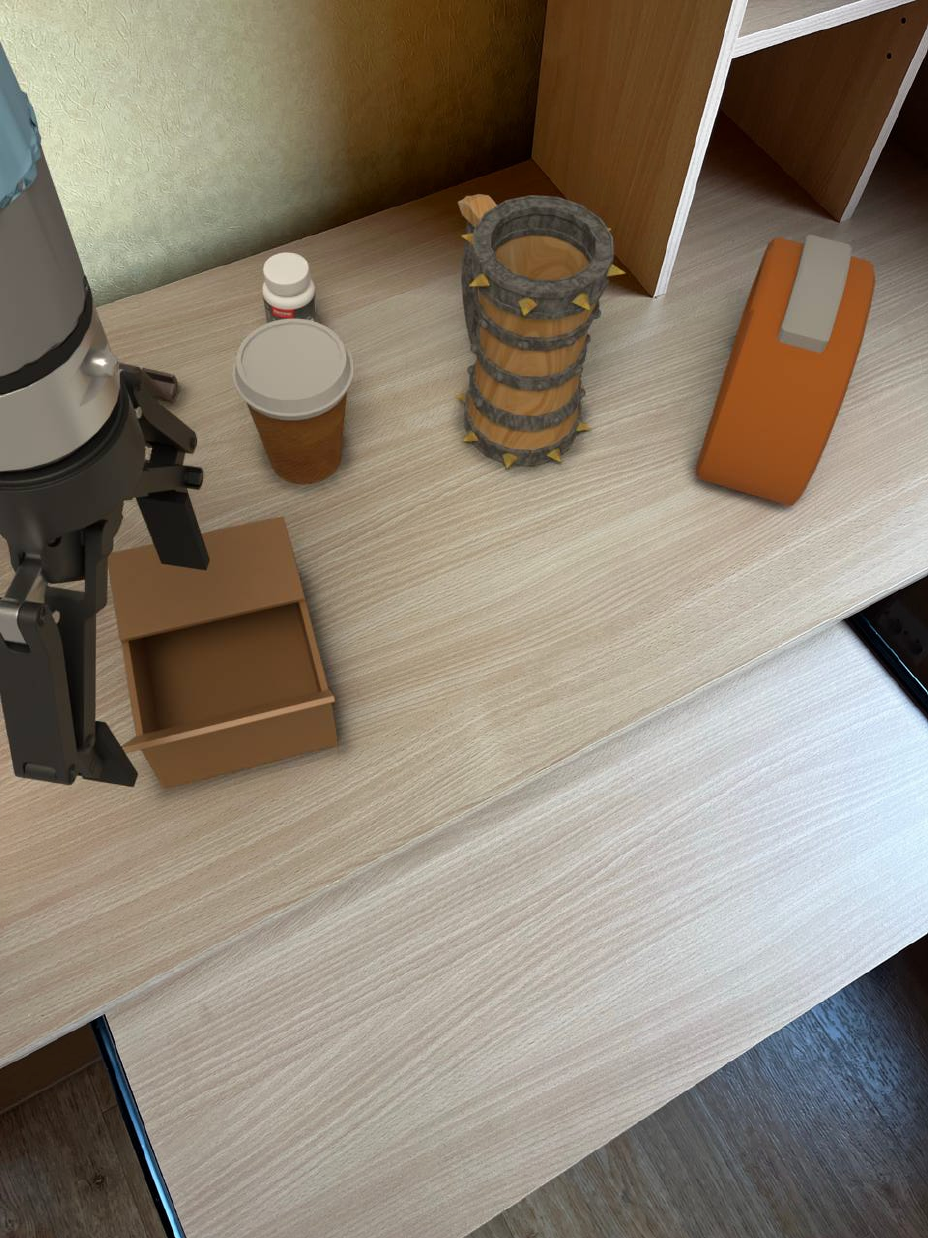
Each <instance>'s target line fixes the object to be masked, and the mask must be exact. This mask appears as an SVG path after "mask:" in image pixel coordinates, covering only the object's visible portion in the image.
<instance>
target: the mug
mask: <svg viewBox="0 0 928 1238" xmlns="http://www.w3.org/2000/svg"><path fill="white" fill-rule="evenodd" d="M457 204H458V207H459V210H460V213H461V216H462V217H464V219H466V231H465V234H462V235H461V234H460V236H461V238H463V239H465V240H464V247H463V254H462V262H461V274H460V278H461V279H460V280H461V281H460V282H461V295H462V307H463V312H464V319H465V326H466V330H467V335H468V340H469V342H470V352H471V353H472V354H474V355H475V356H476V360H475V362H474V363H473V365H472V364H471V365H469V366H468V367H467V370H466V373H467V374H468V375H469V380H468V381H469V382H468V390H467V392H466V393H463V394H454V396H455V397H456V398H458V399H459V400H460V401H461V402H463V403H464V416H463V417H464V418H463V428H464V431H465V432H466V435H465V436H464V437H463V439H462V440H461V442H470V444H472V446H474V447H475V448H476V449H477V450H478V451H479V452H481V453H482V454H483V455H484V456H485V457H486V458H489V459H491V460H492V461H493V460H494V461H496V462H498V463H500V464H504V465H505V468H506V469H508V468H509V467H510V466H511V467H527V468H528V467H530V468H532V467H537V466H541V465H543V464H549V463H551V462H554V461H557V462H559V463H561V464H562V462H563V461H562V457H561V456H563V455H564V454H565V453H566V452H567V451H569V450H570V449H571V447H572V446H573V444H574V442H575V440H576V438H577V436H578V434H579V432H580V431H586V430H592V428H591V427H590V426H588V425H587V424H585V423H584V422H582V421H581V420H582V410H581V409H582V405H581V401H582V399H583V398H585V396H586V389H584V388H583V387H582V375H581V374H582V373H583V371H584V367H583V365H584V363H585V361H586V357H587V353H588V344H589V343H590V342H591V340H592V338H591V337H592V336H591V335H590V334H589V333H588V331H589V329H590V327H591V325H592V323H593V321H594V320H598V319H600V318H601V316H602V310H601V309H600V300H601V298H602V296H603V294H604V292H605V290H606V289H607V287H608V285H609V283H610V277H614V276H619V275H624V274H626V272H625V271H624V270H623V269H620V268H619V267H618V266H616V265H614V264H613V263H614V258H615V250H614V249H615V248H614V247H615V245H614V236H613V235H612V233H611V230H612V227H611V228H610V227H607V225H606V223H605V222H604V220H603V219H602V218H601V217H599V216H598V215H597V214H595V212H593V211H591V210H590V209H589V208H587V207H586V206H584V205H583V204H580V203H577V202H574V201H571V200H568V199H566V198H562V197H559V196H551V195H534V194H533V195H532V194H530V195H525V196H520V197H516V198H511V199H506V200H504V201H502V202H500V203H498V204H497V203H496V202H495V201H494V200H493V198H492V197H491V196H490V195H487V194H482V193H480V194H479V193H478V194H474V195H465V197H464V198H463V199H461V200H458V201H457Z"/></svg>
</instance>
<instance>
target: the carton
mask: <svg viewBox="0 0 928 1238" xmlns="http://www.w3.org/2000/svg"><path fill="white" fill-rule="evenodd" d="M201 534H202V537H203V540H204V543H205V546H206V549H207V552H208V556H209V559H210V561H209V564H208V567H207V570H200V569H193V568H186V567H180V566H173V565H166V564H161V561H160V559H159V556H158V554H157V551H156V549H155V546H154V544H153V543H150V544H144V545H141V546H137V547H131V548H127V549H121V550H117V551H112V552H111V554H110V555H109V556H108V575H109V580H110V586H111V587H110V588H111V593H112V599H113V607H114V613H115V619H116V625H117V633H118V638H119V642H120V643H121V651H122V656H123V662H124V669H125V676H126V682H127V689H128V695H129V702H130V707H131V714H132V720H133V727H134V733H135V736H139V735H143V734H147V733H151V732H155V731H159V730H163V729H167V728H172V727H176V726H180V725H184V724H188V723H192V722H196V721H200V720H204V719H208V718H212V717H216V716H221V715H225V714H229V713H233V712H237V711H241V710H245V709H249V708H253V707H257V706H261V705H266V704H270V703H274V702H278V701H282V700H286V699H290V698H294V697H298V696H302V695H306V694H310V693H315V692H319V691H323V690H327V689H328V690H329V685H328V681H327V678H326V674H325V670H324V666H323V663H322V659H321V654H320V650H319V647H318V643H317V640H316V635H315V632H314V627H313V624H312V619H311V616H310V612H309V608H308V604H307V600H306V597H305V593H304V589H303V585H302V581H301V578H300V573H299V570H298V565H297V562H296V558H295V553H294V550H293V546H292V542H291V538H290V535H289V531H288V527H287V523H286V520H285V516H284V515H281V516H276V517H271V518H266V519H262V520H258V521H253V522H248V523H244V524H238V525H234V526H230V527H225V528H220V529H215V530H209V531H206V532H201ZM329 691H330V690H329ZM336 746H339V741H338V734H337V728H336V722H335V717H334V711H333V705H332V703H328V704H324V705H320V706H316V707H312V708H308V709H304V710H300V711H296V712H292V713H287V714H283V715H279V716H275V717H271V718H267V719H263V720H259V721H255V722H251V723H247V724H243V725H239V726H235V727H231V728H227V729H223V730H219V731H215V732H211V733H207V734H202V735H198V736H194V737H190V738H186V739H182V740H178V741H174V742H170V743H166V744H162V745H158V746H154V747H150V748H146V749H142V750H140V751H141V753H142V754H143V756H144V758H145V759H146V762H147V763H148V764H149V766H150V768H151V770H152V771H153V773H154V775H155V777H156V778H157V781H158V782H159V784H160V785H161V787H162V789H163V790H166V789H171V788H174V787H178V786H182V785H185V784H189V783H194V782H198V781H202V780H206V779H209V778H214V777H217V776H222V775H225V774H229V773H233V772H237V771H241V770H244V769H248V768H249V769H250V768H254V767H257V766H260V765H264V764H269V763H273V762H277V761H280V760H284V759H288V758H292V757H296V756H300V755H303V754H308V753H312V752H315V751H320V750H325V749H328V748H332V747H336Z"/></svg>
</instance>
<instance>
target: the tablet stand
mask: <svg viewBox="0 0 928 1238" xmlns="http://www.w3.org/2000/svg"><path fill="white" fill-rule="evenodd" d="M118 362H119V361H118ZM119 369H123V370H128V371H135V372H141V373H142V375H143V377H144V379H145V381H146V384H147V386H148V388H149V391H150V393H151V395H152V397H153V398H155V399H156V400H157V399H158V400H161V401H169V402H173V401H174V400H176V399H177V398H176V397H177V396H178V393H179V382H178V380H177V377H176V374H173V373H169V372H164V371H159V370H155V369H150V368H146V367H142V368H141V367H140V366H138V365H133V364H128V363H124V362H119Z"/></svg>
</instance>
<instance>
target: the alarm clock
mask: <svg viewBox="0 0 928 1238" xmlns="http://www.w3.org/2000/svg"><path fill="white" fill-rule="evenodd" d="M852 249H853V248H852V246H851V245H850V244H849V243H845V242H841V241H837V240H833V239H829V238H826V237H822V236H818V235H814V234H808V235H806V236H805V238H804V241H803V242H799V241H796V240H791V239H787V238H784V237H781V236H780V237H774V238H772V240H771V241H769V242H768V243H767V246H766V248H765V251H764V253H763V256H762V258H761V261H760V263H759V266H758V269H757V272H756V275H755V277H754V280H753V282H752V286H751V289H750V291H749V295H748V297H747V300H746V303H745V305H744V309H743V312H742V315H741V318H740V322H739V324H738V325H739V326H738V328H737V331H736V335H735V338H734V341H733V344H732V347H731V351H730V354H729V358H728V361H727V364H726V367H725V370H724V374H723V377H722V379H721V380H722V381H721V384H720V386H719V391H718V394H717V397H716V401H715V404H714V407H713V410H712V412H711V416H710V420H709V422H708V427H707V430H706V433H705V436H704V439H703V441H702V446H701V449H700V453H699V456H698V459H697V462H696V465H695V472H696V477H697V478H698V479H700V480H702V481H705V482H708V483H711V484H715V485H718V486H722V487H725V488H729V489H732V490H735V491H739V492H742V493H745V494H749V495H752V496H756V497H759V498H763V499H766V500H770V501H773V502H776V503H779V504H782V505H786V506H794V505H795V504H796V503H797V502H798V501H799V500H800V499H801V497H802V496H803V494H804V492H805V490H806V489H807V487H808V485H809V483H810V481H811V479H812V477H813V475H814V474H815V472H816V470H817V468H818V465H819V463H820V460H821V457H822V456H823V454H824V451H825V449H826V446H827V444H828V442H829V439H830V437H831V434H832V431H833V429H834V426H835V424H836V421H837V418H838V416H839V413H840V411H841V408H842V405H843V402H844V399H845V396H846V394H847V390H848V387H849V385H850V381H851V379H852V376H853V373H854V369H855V368H856V367H855V366H856V364H857V360H858V358H859V353H860V351H861V347H862V345H863V340H864V337H865V332H866V329H867V325H868V324H867V323H868V320H869V316H870V312H871V308H872V302H873V298H874V297H873V296H874V291H875V286H876V281H877V280H876V274H875V267H874V264H873V263H872V262H870V260H867V259H864V258H860V257H856V256H852Z"/></svg>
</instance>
